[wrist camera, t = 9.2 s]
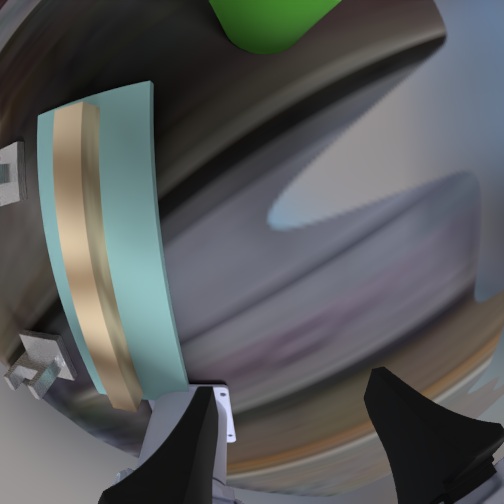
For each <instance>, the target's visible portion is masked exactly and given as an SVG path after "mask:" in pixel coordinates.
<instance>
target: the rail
mask: <svg viewBox="0 0 504 504" xmlns="http://www.w3.org/2000/svg"><path fill="white" fill-rule="evenodd" d="M99 122H100V108H99V107H97V106H94V105H91V104H89V103H86V102H83V101H82V102H79V103H76V104H73V105H69V106H66V107H63V108H60V109H58V110H55V112H54V127H53V179H54V195H55V206H56V216H57V224H58V231H59V238H60V244H61V250H62V255H63V261H64V266H65V270H66V275H67V279H68V284H69V288H70V292H71V296H72V299H73V303H74V307H75V310H76V314H77V317H78V320H79V323H80V327H81V330H82V333H83V336H84V339H85V341H86V344H87V347H88V350H89V352H90V355H91V358H92V360H93V363H94V365H95V368H96V370H97V373H98V375H99V377H100V380H101V382H102V384H103V387H104V389H105V391H106V393H107V395H108V397H109V399H110V401H111V404H112V406H113V408H117V409H123V410H128V411H135V412H137V411H138V408H139V405H140V402H141V400H142V397H143V391H142V388H141V385H140V383H139V380H138V377H137V374H136V371H135V368H134V365H133V362H132V358H131V355H130V352H129V348H128V345H127V342H126V338H125V334H124V331H123V327H122V323H121V319H120V315H119V311H118V306H117V302H116V297H115V293H114V288H113V283H112V278H111V272H110V267H109V261H108V254H107V248H106V241H105V233H104V225H103V215H102V204H101V191H100V172H99Z"/></svg>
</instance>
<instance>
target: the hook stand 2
mask: <svg viewBox="0 0 504 504" xmlns="http://www.w3.org/2000/svg"><path fill="white" fill-rule="evenodd" d="M19 335H20V337H21V340H22V342H23V344H24V346H25V348H26V352H25V353H24V354H23V355H22V356H21V357H20V358H19V359H18V360H17V361H16V363H15V364H14V365H13V366H12V367H11V368H10V369H9V371H8V372H7V373H6V374H5V375H4V377H5V379H6V381H7V383H8V385H9V386H10V388H11V389H13V390H16V389H17V388H18V386H19V385H20V384H21V383H22V381H23V380H24V379H25V378H28V379H31V381H30V382H29V384H28V385H27V386H28V387H29V389H30V391H31V392H32V394H33V395H34V397H35V398H36V399H39V400H41V399H42V397H43V396H44V394H45V393H46V392H47V390H48V389H49V387H50V386H51V384H52V383H53V381H54V380H55V379H56V377H61V378H65V379H70V380H75V378H76V377H77V375H78V374H77V372H76V370H75V367H74V365H73V363H72V361H71V359H70V356H69V354H68V352H67V350H66V347H65V345H64V342H63V340H62V338H61V335H54V334H47V333H41V332H34V331H28V330H23V331H22V332H21V333H20V334H19Z"/></svg>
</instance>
